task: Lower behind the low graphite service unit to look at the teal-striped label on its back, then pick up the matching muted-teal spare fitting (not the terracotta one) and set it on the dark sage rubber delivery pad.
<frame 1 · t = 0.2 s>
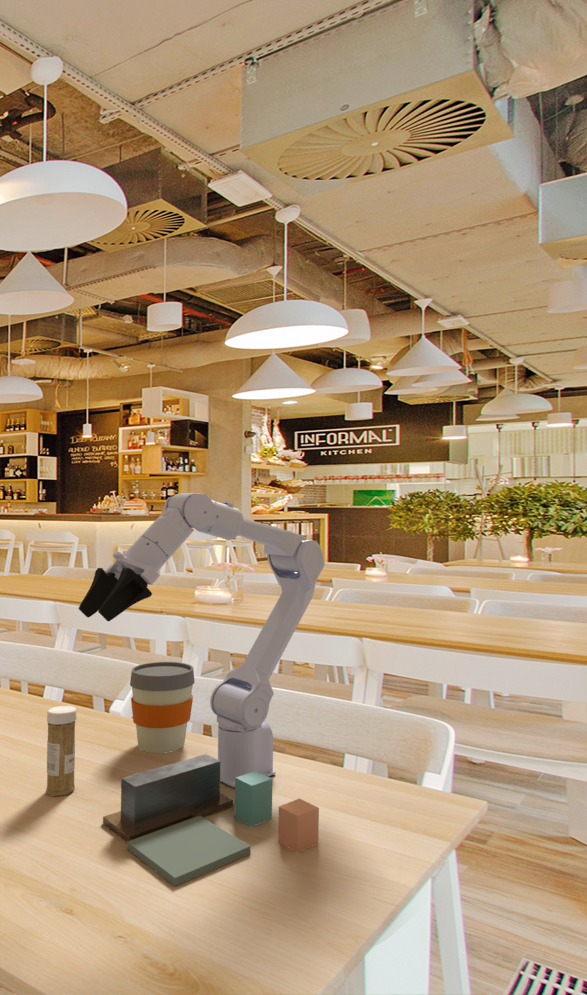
hand: (93, 614, 99), 31 cm above the table, fingers open, 7 cm apart
terracotta fitting: (298, 842, 94), on the table
service unit: (170, 814, 102), on the table
reusable coffee cup: (161, 746, 132), on the table
sprinkles bottle: (60, 792, 110), on the table
delivery pad: (188, 851, 91), on the table
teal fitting: (253, 818, 101), on the table
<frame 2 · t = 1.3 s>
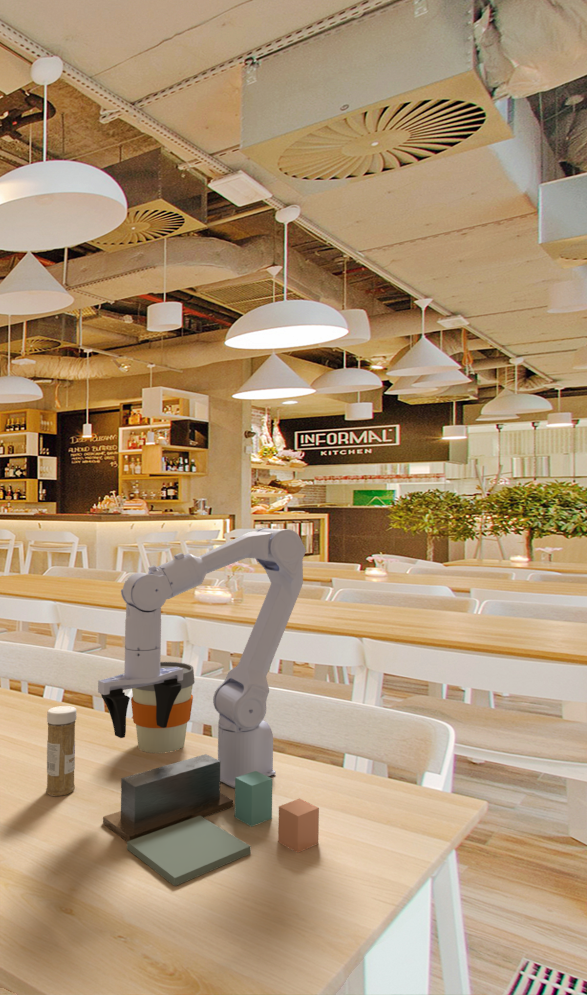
hand: (141, 731, 109), 10 cm above the table, fingers open, 7 cm apart
nothing on the table moved.
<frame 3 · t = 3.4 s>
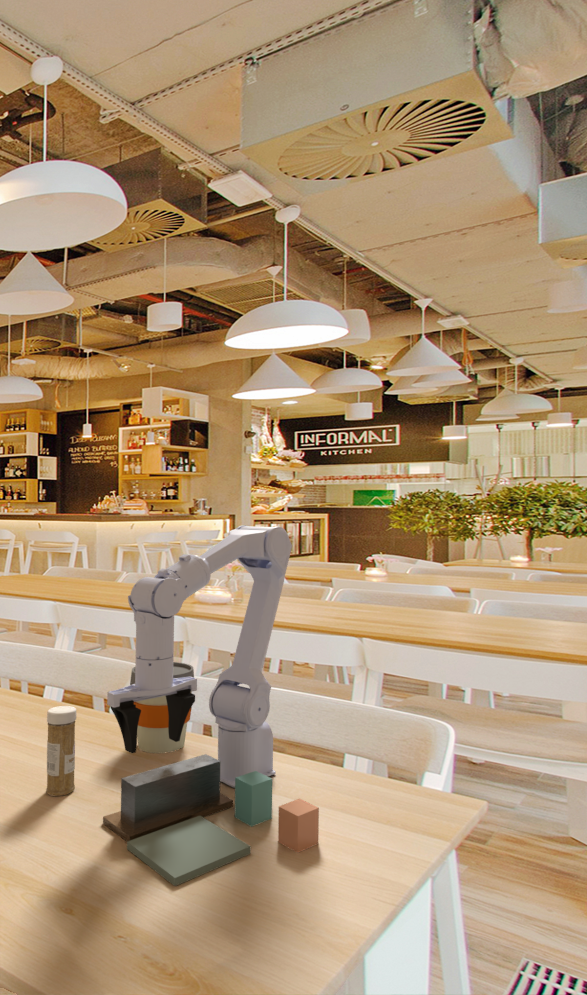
hand: (153, 745, 102), 10 cm above the table, fingers open, 7 cm apart
nothing on the table moved.
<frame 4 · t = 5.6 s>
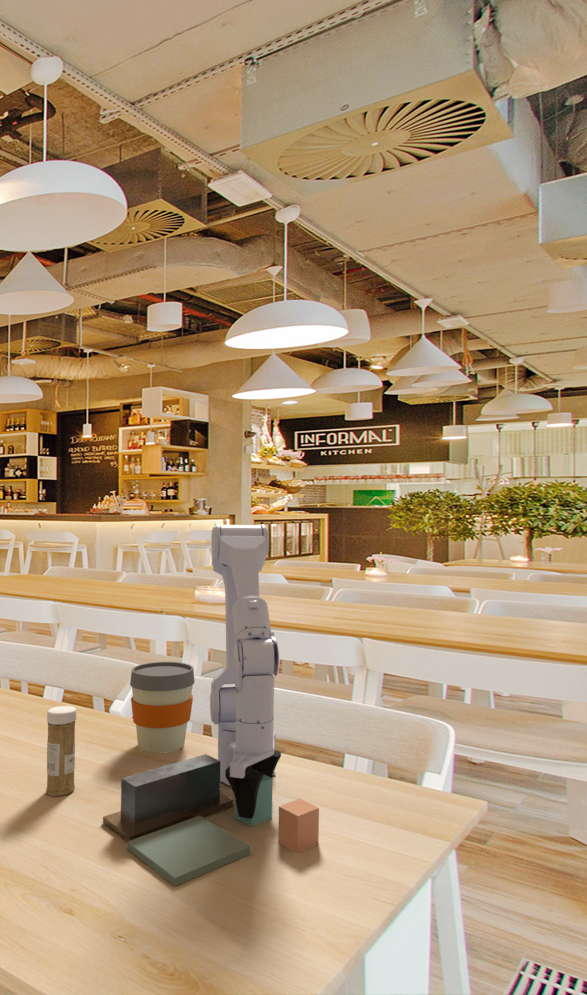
hand: (253, 808, 101), 1 cm above the table, fingers closed on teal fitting, 5 cm apart
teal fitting: (253, 817, 101), on the table, touching gripper
everything else where it was.
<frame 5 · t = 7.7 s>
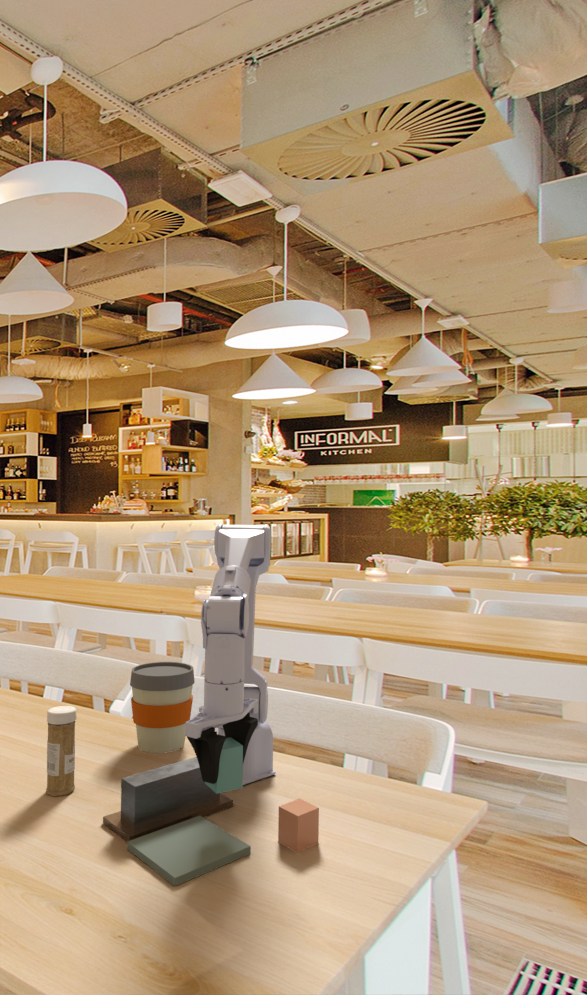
hand: (222, 774, 96), 9 cm above the table, fingers closed on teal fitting, 5 cm apart
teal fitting: (223, 785, 96), point 7 cm above the table, touching gripper
everything else where it was.
when the fingers open (3 cm above the table, at t = 9.9 s): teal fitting stays where it is, resting on delivery pad.
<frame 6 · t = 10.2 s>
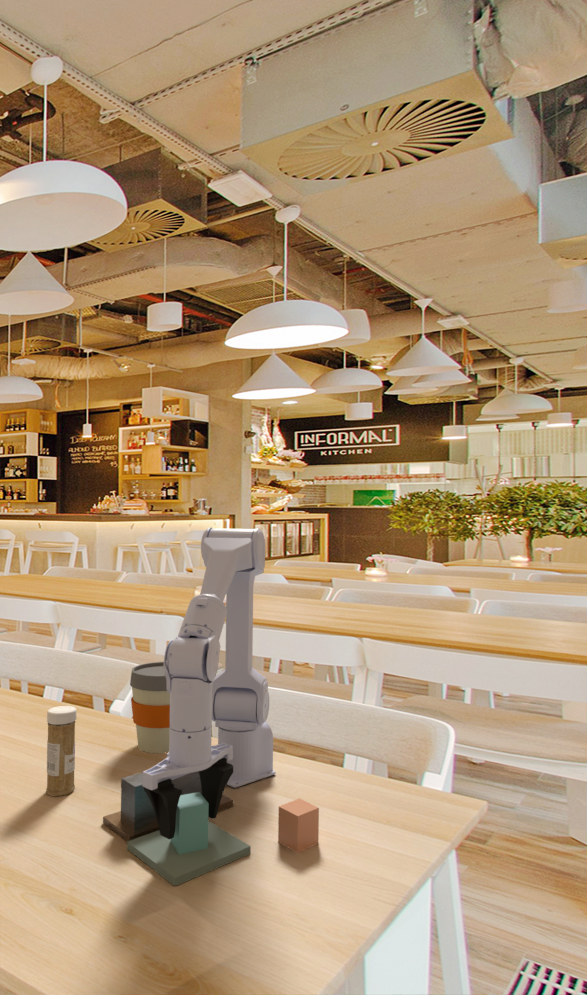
hand: (188, 826, 91), 3 cm above the table, fingers open, 7 cm apart
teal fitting: (189, 844, 91), point 1 cm above the table, touching delivery pad
everything else where it was.
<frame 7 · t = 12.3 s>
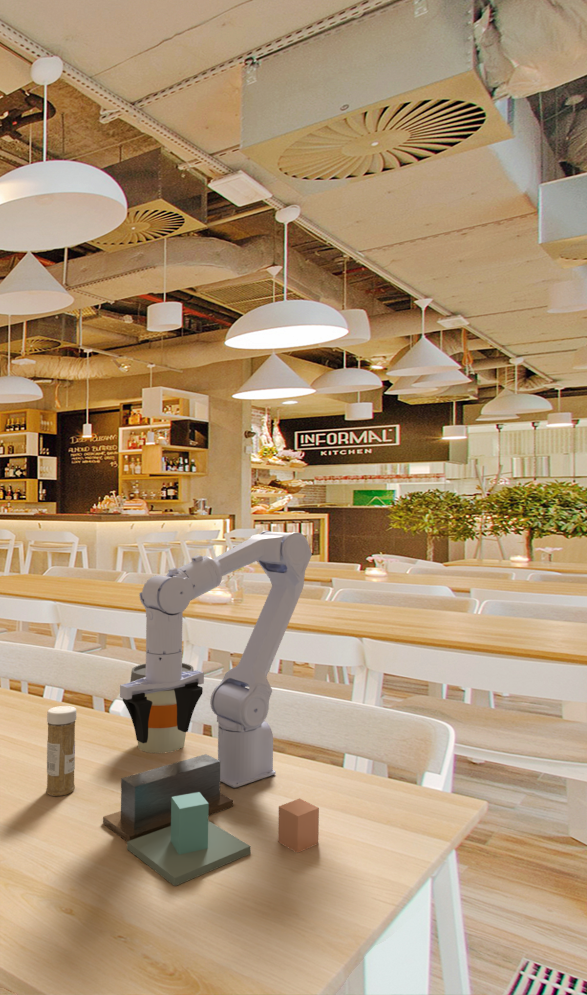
hand: (162, 735, 107), 10 cm above the table, fingers open, 7 cm apart
nothing on the table moved.
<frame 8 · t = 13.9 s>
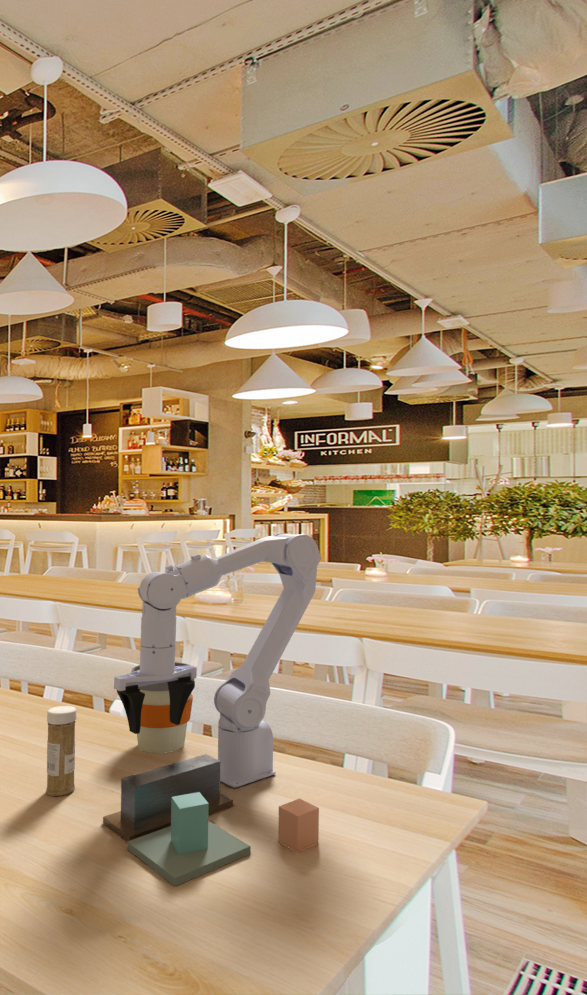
hand: (155, 727, 111), 10 cm above the table, fingers open, 7 cm apart
nothing on the table moved.
at the end: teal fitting inside the target area on the delivery pad (0.2 cm from its centre), point 1.0 cm above the delivery pad's base; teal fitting tilted 0°; the gripper is holding nothing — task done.
